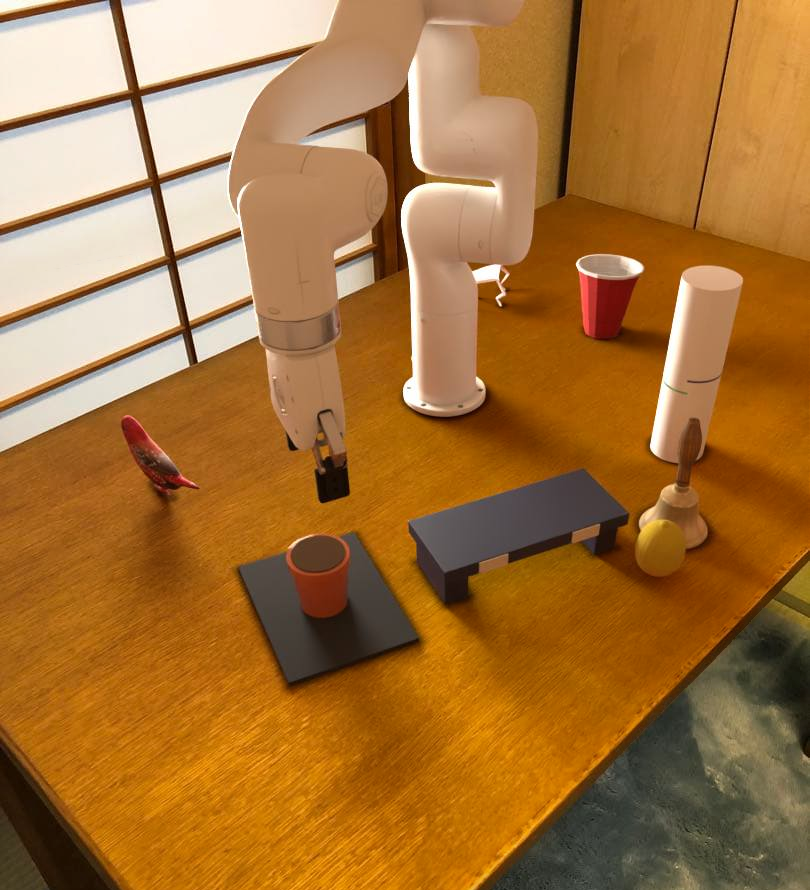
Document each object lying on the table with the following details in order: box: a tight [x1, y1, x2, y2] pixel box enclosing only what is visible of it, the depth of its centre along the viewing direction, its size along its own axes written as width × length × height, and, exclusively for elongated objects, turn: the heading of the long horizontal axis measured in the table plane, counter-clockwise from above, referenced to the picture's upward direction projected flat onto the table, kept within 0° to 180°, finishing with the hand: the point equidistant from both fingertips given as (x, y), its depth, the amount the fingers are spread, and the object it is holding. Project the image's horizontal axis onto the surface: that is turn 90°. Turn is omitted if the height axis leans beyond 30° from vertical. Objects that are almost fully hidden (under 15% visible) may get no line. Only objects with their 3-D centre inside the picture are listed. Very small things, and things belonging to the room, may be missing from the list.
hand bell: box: [638, 418, 709, 550], centre depth 104 cm, size 8×8×16 cm
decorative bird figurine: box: [120, 415, 201, 498], centre depth 114 cm, size 3×18×10 cm, turn 44°
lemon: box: [634, 520, 687, 578], centre depth 101 cm, size 6×6×8 cm
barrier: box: [407, 467, 630, 605], centre depth 104 cm, size 10×24×6 cm, turn 114°
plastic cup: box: [575, 253, 645, 340], centre depth 145 cm, size 11×11×12 cm
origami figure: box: [472, 264, 511, 307], centre depth 158 cm, size 12×8×5 cm
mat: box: [237, 531, 420, 687], centre depth 101 cm, size 20×15×1 cm
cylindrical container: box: [649, 265, 744, 464], centre depth 114 cm, size 7×7×25 cm
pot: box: [286, 533, 351, 618], centre depth 98 cm, size 7×7×7 cm
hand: (318, 471), depth 91 cm, fingers open, 9 cm apart
